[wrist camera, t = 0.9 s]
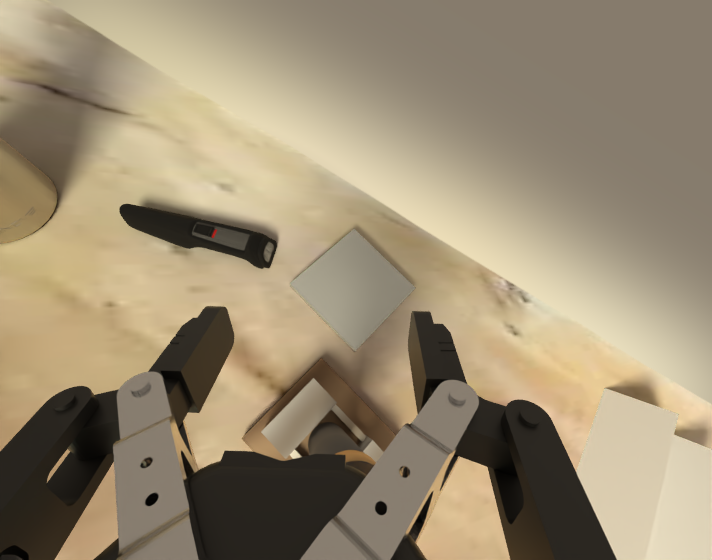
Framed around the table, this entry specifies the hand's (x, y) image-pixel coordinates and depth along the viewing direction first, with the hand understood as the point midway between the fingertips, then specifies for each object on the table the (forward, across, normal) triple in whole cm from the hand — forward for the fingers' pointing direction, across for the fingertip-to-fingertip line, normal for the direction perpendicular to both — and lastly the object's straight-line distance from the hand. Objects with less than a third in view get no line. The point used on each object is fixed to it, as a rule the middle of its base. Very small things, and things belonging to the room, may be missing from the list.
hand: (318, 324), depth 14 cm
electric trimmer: (+21, +16, +6) cm, 27 cm away
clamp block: (+6, +1, +20) cm, 22 cm away
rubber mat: (+19, -1, +11) cm, 22 cm away
